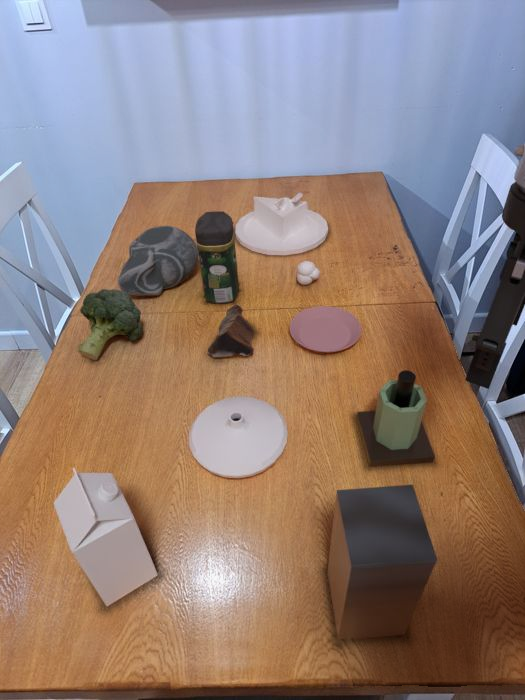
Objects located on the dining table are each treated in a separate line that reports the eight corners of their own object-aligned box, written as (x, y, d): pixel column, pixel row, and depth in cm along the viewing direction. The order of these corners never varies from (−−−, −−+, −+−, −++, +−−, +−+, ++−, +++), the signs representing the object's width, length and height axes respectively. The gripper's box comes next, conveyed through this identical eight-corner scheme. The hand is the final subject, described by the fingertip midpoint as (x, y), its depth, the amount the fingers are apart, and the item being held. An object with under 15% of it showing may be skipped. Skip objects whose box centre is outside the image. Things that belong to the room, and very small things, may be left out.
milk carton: (107, 608, 62) (59, 534, 49) (88, 561, 66) (41, 483, 54) (158, 576, 64) (126, 498, 52) (137, 533, 69) (103, 452, 56)
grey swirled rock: (114, 305, 111) (152, 258, 125) (179, 311, 107) (210, 262, 121) (98, 262, 103) (140, 217, 118) (167, 267, 99) (202, 220, 113)
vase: (296, 416, 84) (296, 388, 79) (275, 496, 72) (274, 468, 68) (209, 401, 87) (204, 373, 82) (176, 476, 76) (168, 448, 71)
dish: (345, 225, 133) (348, 184, 126) (291, 265, 119) (291, 223, 111) (273, 202, 145) (272, 164, 137) (216, 237, 131) (212, 197, 123)
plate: (275, 336, 99) (274, 329, 98) (319, 305, 107) (319, 297, 105) (330, 369, 92) (331, 361, 90) (374, 332, 99) (375, 325, 98)
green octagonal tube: (420, 448, 76) (431, 409, 70) (379, 450, 76) (386, 413, 70) (408, 416, 81) (418, 378, 75) (370, 419, 81) (376, 381, 75)
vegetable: (54, 340, 98) (95, 279, 102) (109, 373, 103) (147, 314, 107) (60, 338, 87) (106, 270, 91) (122, 375, 92) (163, 309, 96)
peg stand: (433, 462, 76) (454, 399, 66) (369, 467, 76) (380, 404, 66) (414, 413, 83) (431, 350, 73) (356, 417, 83) (365, 354, 73)
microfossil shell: (295, 277, 115) (295, 257, 111) (318, 276, 115) (319, 256, 111) (297, 288, 112) (297, 268, 108) (320, 287, 112) (321, 266, 108)
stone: (200, 345, 92) (217, 298, 103) (210, 367, 96) (225, 319, 107) (245, 341, 90) (258, 293, 101) (253, 363, 94) (264, 314, 104)
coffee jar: (206, 281, 115) (196, 208, 103) (240, 280, 115) (233, 206, 103) (202, 306, 108) (191, 230, 96) (238, 305, 108) (231, 229, 95)
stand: (404, 634, 58) (437, 559, 45) (337, 639, 58) (351, 566, 45) (387, 567, 64) (412, 484, 51) (327, 572, 64) (336, 489, 51)
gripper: (538, 141, 57) (489, 291, 71) (477, 232, 42) (429, 400, 56) (612, 152, 53) (545, 307, 68) (574, 255, 38) (498, 428, 52)
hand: (492, 350), depth 62 cm, fingers open, 13 cm apart
